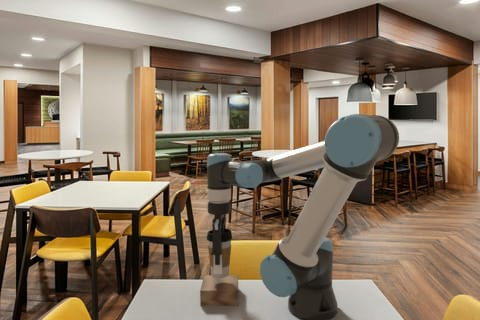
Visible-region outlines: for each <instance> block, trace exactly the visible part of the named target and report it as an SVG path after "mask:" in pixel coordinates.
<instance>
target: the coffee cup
mask: <svg viewBox="0 0 480 320" xmlns="http://www.w3.org/2000/svg"><path fill="white" fill-rule="evenodd" d="M206 234H207V235H206V241H207V243H208V245H207V250H208V251H207V252H208V259H209V267H210V275H211V276H212V277H214V278H225V277H227V276H228V275H230V262H231V255H232V253H231V251H232V244H231V243H232V240H233V233H232V230H231V229H230V228H226V229H224V233H222V250H221V252H222V274H214V261H213V255H211V253H212V243H213V229H210V230H208V231H207V233H206Z"/></svg>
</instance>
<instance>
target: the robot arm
mask: <svg viewBox="0 0 480 320" xmlns="http://www.w3.org/2000/svg"><path fill="white" fill-rule="evenodd" d="M399 143H400V133H399V130H398V127H397V125H396V124H395V123H394V122H393V121H392V120H390V118H388V117H385V116H383V115H375V114H373V115H371V114H369V115H367V114H360V113H354V114H349V115H345V116H343V117H340V118H338V119H336V120H334V122H333V123H332V124H331V125H329V128H328V129H327V131H326V134H325V136H324V140H322V141H319V142H314V143H312V144H309V145H306V146H303V147H299V148H296V149H293V150H289V151H287V152H283V153H280V154H278V155H273V156H270V157H268V158H263V159H256V160H254V159H253V160H247V161H236V160H235V161H234V160H231V155H230V153H223V152H221V153H220V152H219V153H210V154H208V156H207V162H206V170H207V171H206V173H207V176H206V177H207V182H206V183H207V190H206V191H205V194H207V201H208V202H207V213H208V214H210V215H213V216H214V217H213V219H212V225H211V226H212V230H213V243H212V253H211V255H213V261H214V274H222V252H221V250H222V233H224V229H227V228H226V227H227V225H226V224H227V223H226V222H227V218H226V216H227V215H228V214H230V213H231V211H232V209H231V208H232V207H231V206H232V205H231V204H232V203H231V199H232V188H231V186H235V187H241V188H245V189H247V188H248V189H249V188H251V189H252V188H253V189H255V188H257V187H258V186H259V185H261V184H262V183H269V182H274V181H278V180H281V179H283V178H287V177H291V176H296V175H299V174H303V173H307V172H311V171H314V170H319V169H322V171H321V173H320V175H319V177H318V179H317V180H316V182H315V184H314V186H313V189H312V190H311V191H310V194H309V195H308V198H307V199H306V201H305V202H304V205H303V208H302V209H301V210H300V213H299V215H298V216H297V218H296V220H295V222H294V224H293V226H292V229H291V230H290V232H289V234H288V236H283V237H282V238H280V240H279V241H278V243H277V244H276V247H275V249H274V250H273V253H271V254H268V255H267V256H265V257H264V258H263V259H262V260H261V262H260V265H259V275H260V277H261V281H262V283H263V285H264V286H265V288H266V289H267V290H268V291H269V292H270V293H271V294H272V295H274V296H276V297H277V298H287V297H288V300H287V301H288V302H287V309H288V310H289V312H290V313H291V314H292V315H294V316H295V317H297V318H298V319H299V318H300V319H303V320H331V319H333V318H335V316H337V314H338V300H337V298H336V295H335V291H334V287H333V265H334V262H333V261H334V260H333V258H334V249H333V245H334V244H333V241H332V240H331V239H329V238H328V237H327V235H328V234H329V232H330V230H331V228H332V227H333V225H334V223H335V222H336V219H337V218H338V216H339V214H340V212H341V211H342V209H343V208H344V205H345V204H346V202H347V200H348V199H349V197H350V195H351V193H352V191H353V190H354V188H355V187H356V185H357V183H358V182H364V181H366V180H367V179H368V178H369V175H370V173H371V172H372V170H373V169H374V167H375V166H376V163H377V162H380V161H383V160H386V159H388V158H390V156H392V155H393V154H394V153H395V151H396V150H397V148H398V146H399Z"/></svg>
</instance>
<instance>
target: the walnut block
mask: <svg viewBox="0 0 480 320" xmlns="http://www.w3.org/2000/svg"><path fill="white" fill-rule="evenodd" d="M201 281H202V282H201V285H200V290H199V295H200V296H199V299H200V303H199V304H200V306H202V307H205V306H207V307H209V306H212V307H213V306H214V307H216V306H217V307H219V306H220V307H221V306H222V307H224V306H226V307H228V306H229V307H231V306H232V307H233V306H235V307H236V306H239V275H238V274H233V275H232V274H231V275H230V274H229V275H228V276H227V277H225V278H214V277H212V276H211V274H209V275H207V274H206V275H203V277H202V280H201Z"/></svg>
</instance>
